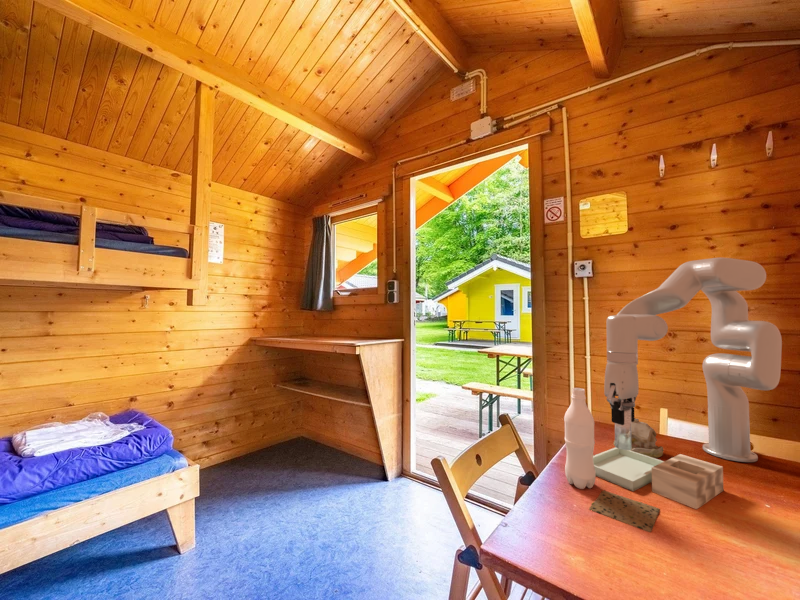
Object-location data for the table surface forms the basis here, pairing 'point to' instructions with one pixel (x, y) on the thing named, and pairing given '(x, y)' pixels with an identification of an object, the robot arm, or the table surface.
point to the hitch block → (687, 480)
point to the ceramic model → (644, 440)
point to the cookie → (626, 510)
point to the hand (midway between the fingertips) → (623, 421)
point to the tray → (625, 468)
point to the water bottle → (579, 442)
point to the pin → (624, 428)
